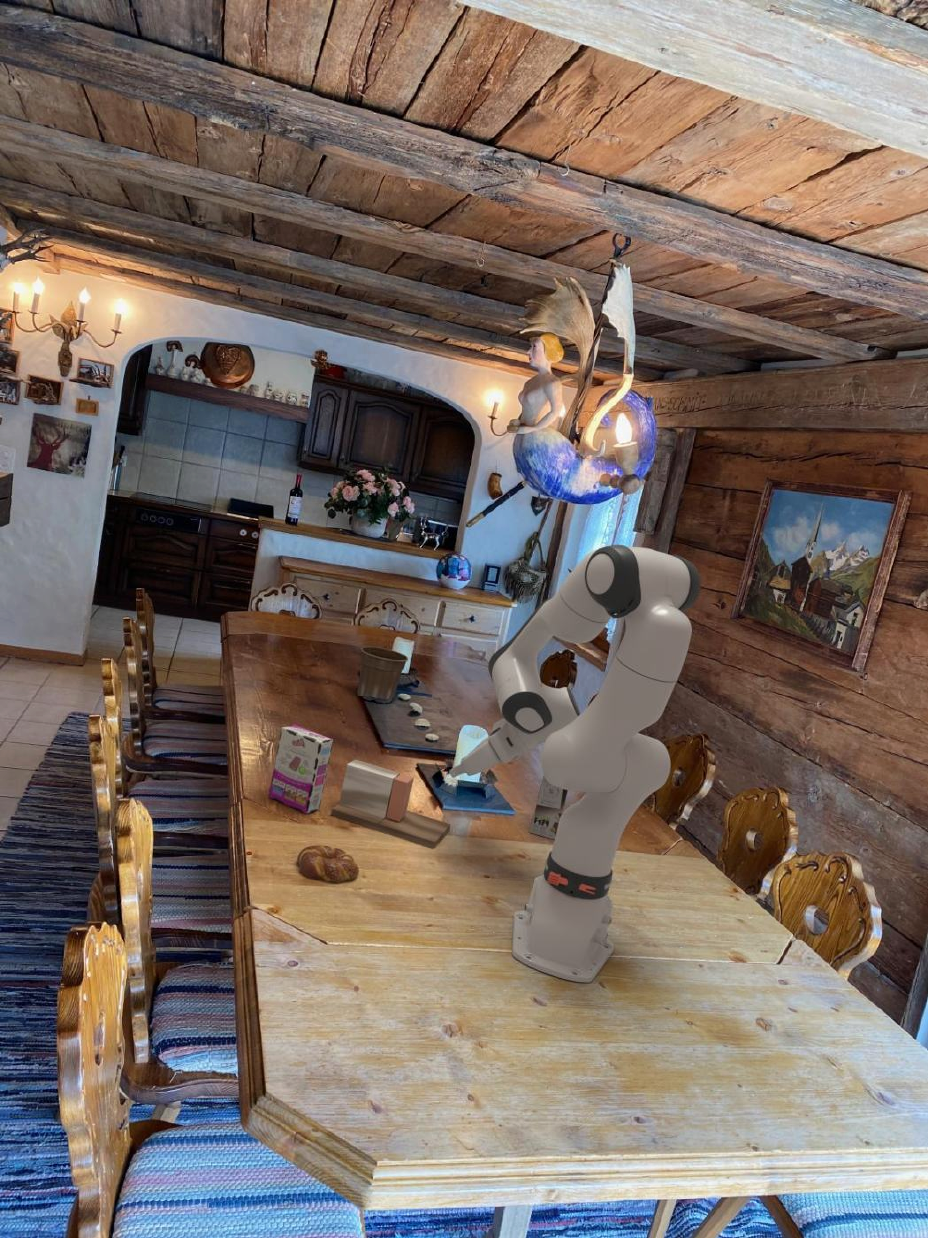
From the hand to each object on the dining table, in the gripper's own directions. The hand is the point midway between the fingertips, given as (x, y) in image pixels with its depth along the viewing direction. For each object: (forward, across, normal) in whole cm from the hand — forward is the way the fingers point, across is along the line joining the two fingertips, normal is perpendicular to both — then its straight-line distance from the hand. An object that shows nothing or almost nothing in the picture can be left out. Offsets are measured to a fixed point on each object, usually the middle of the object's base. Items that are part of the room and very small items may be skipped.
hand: (457, 768), depth 185 cm
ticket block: (+21, 0, +3) cm, 21 cm away
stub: (+18, 0, +3) cm, 18 cm away
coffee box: (-2, -24, +25) cm, 35 cm away
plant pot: (+50, -95, -25) cm, 110 cm away
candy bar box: (+35, +6, -11) cm, 37 cm away
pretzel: (+22, +30, +2) cm, 37 cm away
